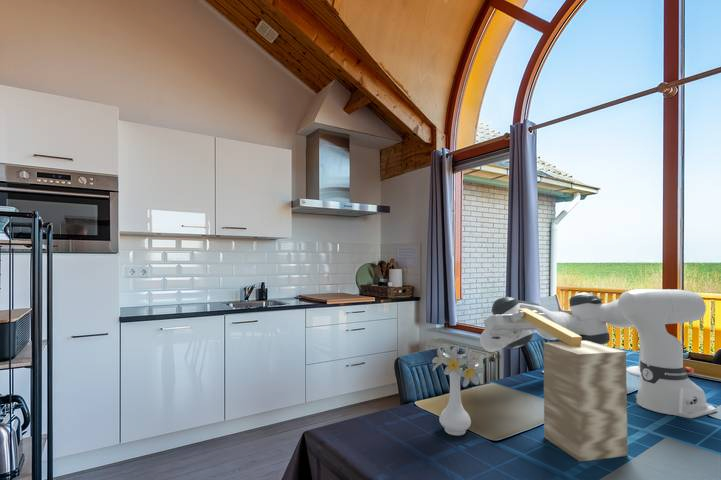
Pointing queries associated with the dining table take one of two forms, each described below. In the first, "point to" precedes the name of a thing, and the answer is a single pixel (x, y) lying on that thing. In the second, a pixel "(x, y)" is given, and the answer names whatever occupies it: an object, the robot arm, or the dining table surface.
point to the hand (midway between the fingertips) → (529, 313)
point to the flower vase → (457, 386)
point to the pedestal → (585, 399)
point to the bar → (552, 328)
